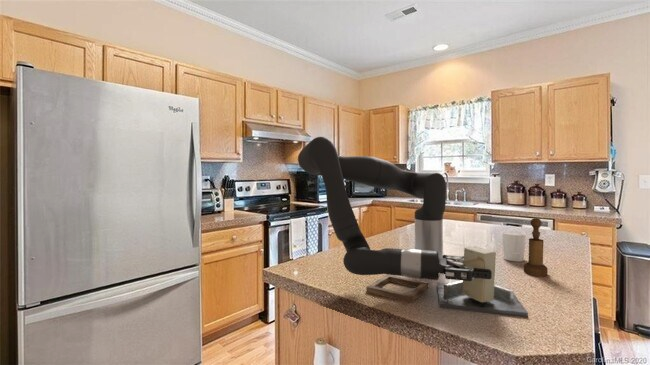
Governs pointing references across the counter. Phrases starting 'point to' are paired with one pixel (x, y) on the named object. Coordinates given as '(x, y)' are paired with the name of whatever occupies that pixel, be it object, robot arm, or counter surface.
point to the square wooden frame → (408, 297)
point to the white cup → (513, 245)
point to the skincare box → (479, 287)
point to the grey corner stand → (455, 299)
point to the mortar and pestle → (535, 252)
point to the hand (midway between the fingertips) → (488, 269)
